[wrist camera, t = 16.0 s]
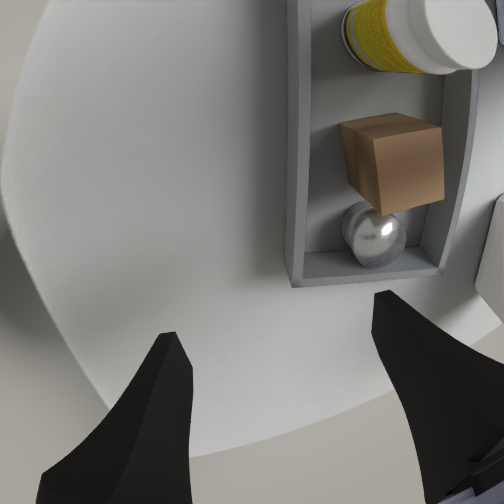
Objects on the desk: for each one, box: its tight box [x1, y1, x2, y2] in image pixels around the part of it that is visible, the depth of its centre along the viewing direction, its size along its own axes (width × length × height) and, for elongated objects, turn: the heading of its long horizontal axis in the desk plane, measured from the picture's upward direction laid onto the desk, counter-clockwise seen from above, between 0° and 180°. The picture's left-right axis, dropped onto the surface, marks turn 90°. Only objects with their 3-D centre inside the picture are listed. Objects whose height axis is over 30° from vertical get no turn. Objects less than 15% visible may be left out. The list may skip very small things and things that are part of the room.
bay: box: [284, 0, 479, 288], centre depth 16 cm, size 11×19×3 cm, turn 1°
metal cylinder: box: [341, 200, 406, 268], centre depth 20 cm, size 4×4×3 cm
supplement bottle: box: [341, 0, 498, 75], centre depth 11 cm, size 5×5×8 cm
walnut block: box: [339, 113, 444, 216], centre depth 16 cm, size 4×4×5 cm
